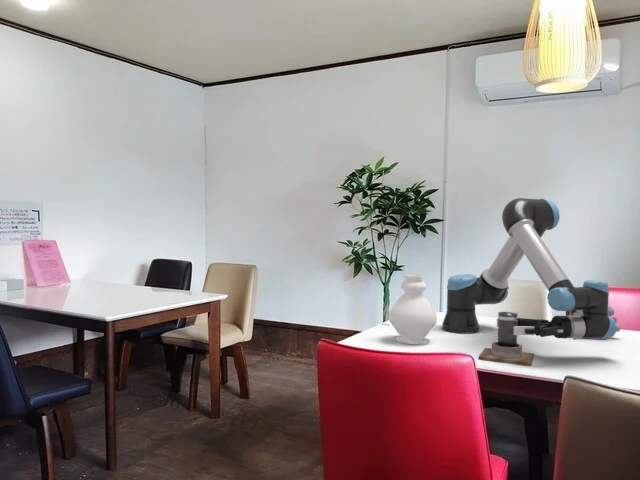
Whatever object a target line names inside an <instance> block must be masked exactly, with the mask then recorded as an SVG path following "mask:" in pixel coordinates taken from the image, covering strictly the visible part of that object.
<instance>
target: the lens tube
mask: <svg viewBox="0 0 640 480" xmlns="http://www.w3.org/2000/svg"><path fill="white" fill-rule="evenodd" d="M497 317H498V318H497V319H498V327H497V342H498V346H503V347H517V344H518V335H514V326H517V321H518V318H519V316H518V313H517V312H512V311H511V312H510V311H499V312H498V316H497Z"/></svg>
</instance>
